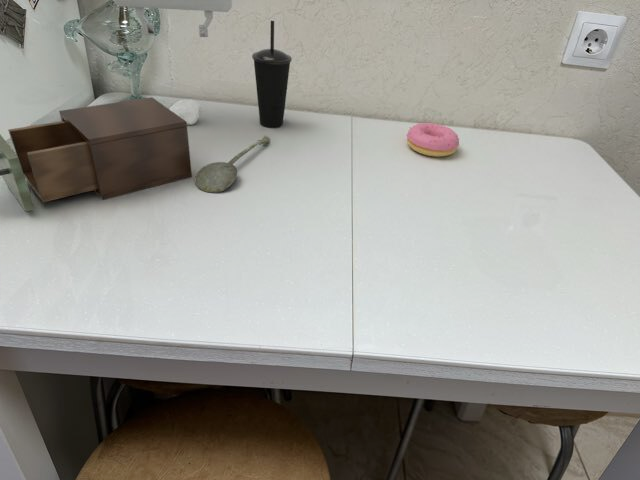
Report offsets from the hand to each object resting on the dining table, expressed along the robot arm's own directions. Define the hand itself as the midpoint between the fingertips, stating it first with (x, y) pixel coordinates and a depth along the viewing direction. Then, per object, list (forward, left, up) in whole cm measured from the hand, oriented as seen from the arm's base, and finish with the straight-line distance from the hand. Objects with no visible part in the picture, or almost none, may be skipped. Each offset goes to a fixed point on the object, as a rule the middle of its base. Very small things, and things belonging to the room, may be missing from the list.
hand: (177, 35), depth 91 cm
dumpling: (0, 0, -17) cm, 17 cm away
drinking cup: (+17, +4, -17) cm, 24 cm away
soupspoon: (+15, -17, -17) cm, 28 cm away
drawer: (-10, -33, -15) cm, 38 cm away
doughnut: (+51, +1, -17) cm, 54 cm away
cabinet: (-1, -24, -16) cm, 29 cm away
